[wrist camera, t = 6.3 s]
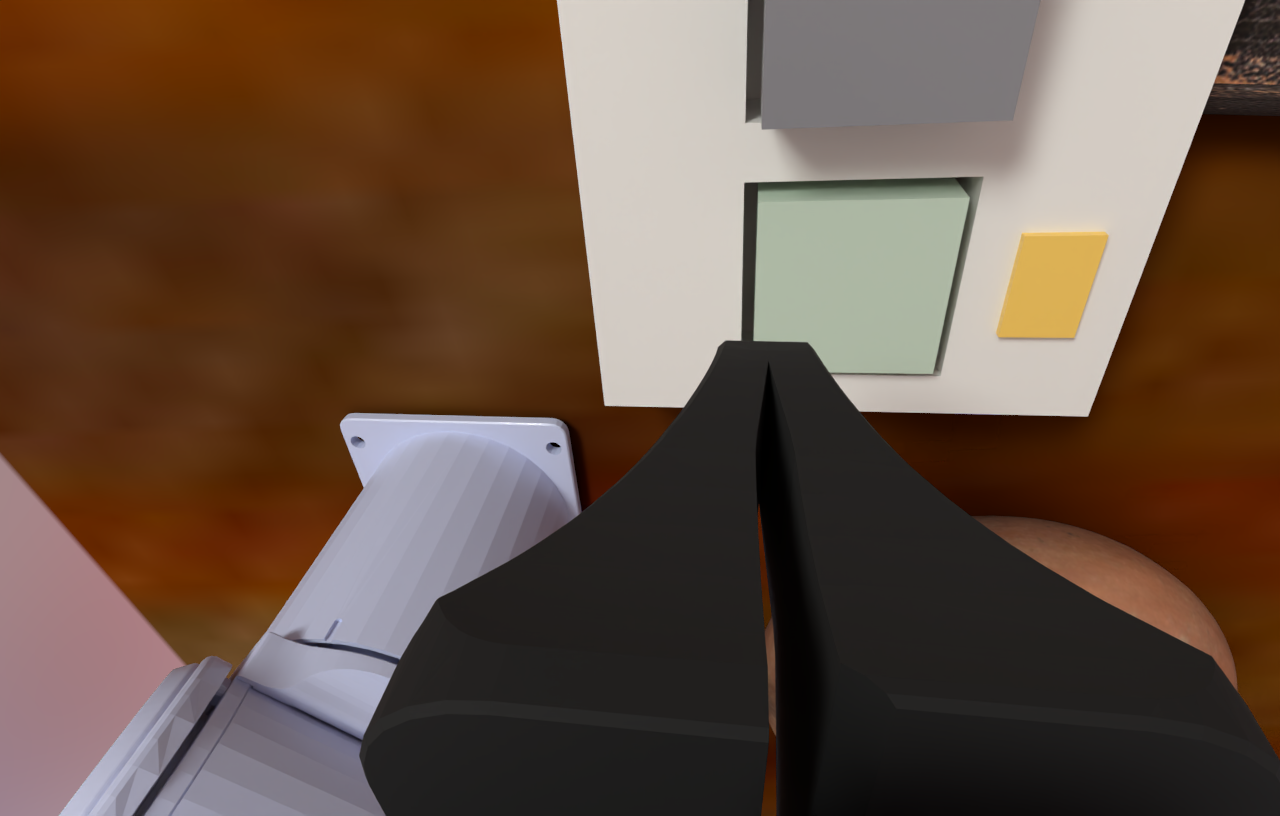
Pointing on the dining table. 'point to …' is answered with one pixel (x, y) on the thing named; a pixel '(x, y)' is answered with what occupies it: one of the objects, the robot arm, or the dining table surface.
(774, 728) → the ceramic jug
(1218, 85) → the hardcover book
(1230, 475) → the dining table surface
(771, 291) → the key sage
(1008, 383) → the white flat block
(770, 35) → the key charcoal
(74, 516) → the dining table surface
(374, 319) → the dining table surface
